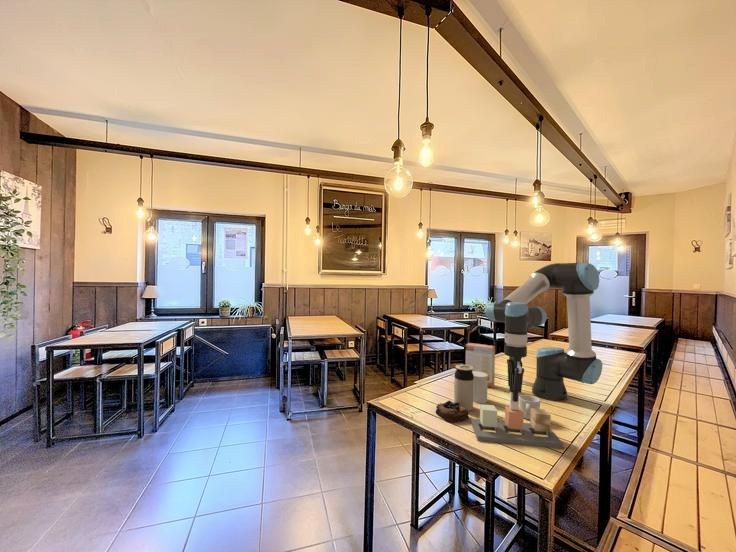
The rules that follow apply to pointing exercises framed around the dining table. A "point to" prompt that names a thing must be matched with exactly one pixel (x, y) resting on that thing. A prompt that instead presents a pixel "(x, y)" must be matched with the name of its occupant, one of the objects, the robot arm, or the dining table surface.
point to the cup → (528, 404)
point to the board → (515, 435)
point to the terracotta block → (514, 418)
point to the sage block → (488, 415)
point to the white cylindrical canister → (480, 387)
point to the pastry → (452, 412)
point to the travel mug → (464, 386)
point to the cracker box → (482, 360)
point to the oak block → (540, 420)
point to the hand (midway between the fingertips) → (514, 409)
